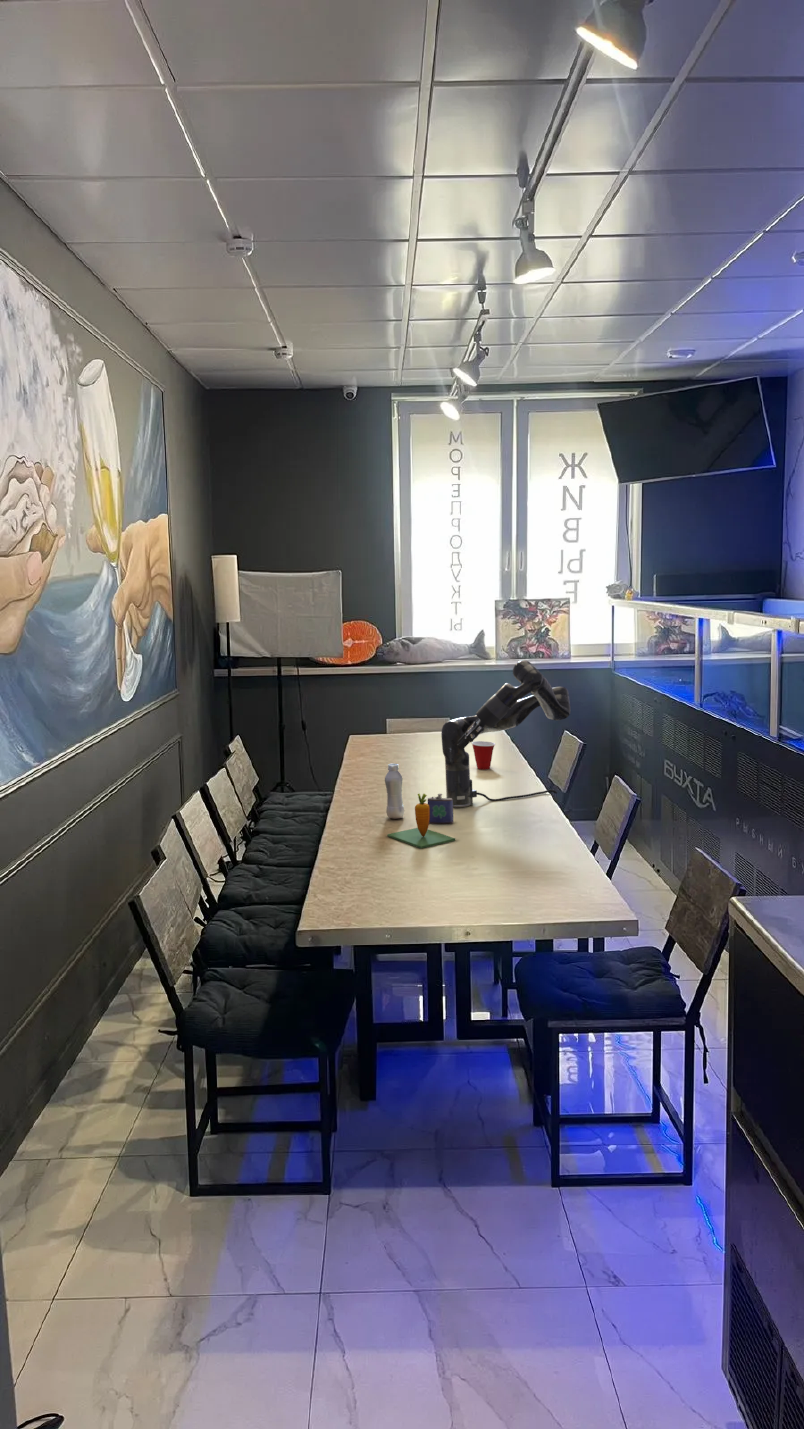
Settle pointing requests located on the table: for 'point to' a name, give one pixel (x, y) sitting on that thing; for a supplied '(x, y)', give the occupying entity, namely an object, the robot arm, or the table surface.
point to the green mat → (421, 838)
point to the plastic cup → (483, 754)
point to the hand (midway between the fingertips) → (459, 746)
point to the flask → (441, 810)
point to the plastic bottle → (394, 792)
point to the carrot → (422, 815)
